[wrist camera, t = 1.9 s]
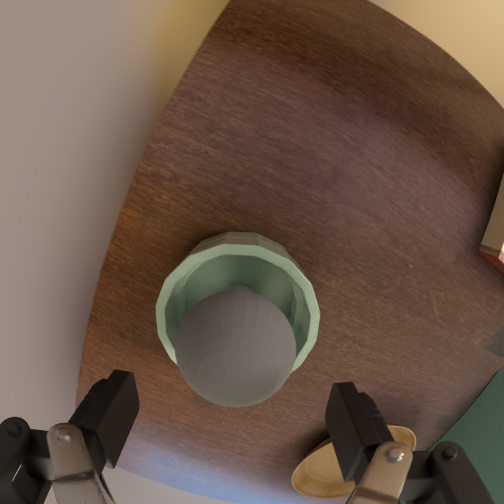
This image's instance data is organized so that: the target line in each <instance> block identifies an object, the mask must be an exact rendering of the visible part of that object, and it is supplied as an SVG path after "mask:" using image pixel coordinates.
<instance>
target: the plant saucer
mask: <svg viewBox="0 0 504 504" xmlns="http://www.w3.org/2000/svg"><path fill="white" fill-rule="evenodd" d="M386 425H387V427H388V428H389V430H390V432H391V434H392V436H393V438H394V440H395V441H398V442H402V443H404V444H406V445H407V446H408V447H409V448H410V449H411V451H414V450H415V447H416V436H415V434H414V433H413V432H412V431H411V430H410V429H408V428H406V427H402V426H398V425H393V424H386ZM291 483H292V486H293V488H294V489H295V490H296V491H297V492H299V493H300V494H302V495H304V496H308V497H311V498H319V499H330V498H340V497H345V496H349V495H351V493H352V491H353V490H354V488H355V486H356V485H355V482H354V481H349V482H344V480H343V477H342V473H341V470H340V467H339V463H338V460H337V457H336V454H335V451H334V447H333V444H332V441H331V438H329V439H327V440H325V441H324V442H322V443H321V444H319V445H318V446H317V447H316V448H314V449H313V450H312V451H311V452H310V453H309V454H308V455H307V456H306V457H305V458H304V459H303V460H302V461H301V462H300V463H299V465H298V466H297V467H296V469H295V470H294V472H293V475H292V478H291Z"/></svg>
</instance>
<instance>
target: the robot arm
mask: <svg viewBox="0 0 504 504" xmlns="http://www.w3.org/2000/svg"><path fill="white" fill-rule="evenodd" d="M138 411H139V397H138V393H137V388H136V383H135V378H134V374H133V373H132V372H128V371H122V370H117V369H115V370H114V371H113V372H112V373H111V375H110V376H109V378H108V379H101V380H100V381H98V382H97V383H95V384H94V385H93V386H92V388H91V389H90V390H89V392H88V394H87V395H86V396H85V398H84V400H83V401H82V402H81V403H80V405H79V406H78V408H77V409H76V411H75V412H74V414H73V415H72V417H71V418H70V420H69V421H68V423H59V424H56V425H54V426H52V427H51V428H50V429H49V431H43V430H35V429H30V427H29V425H28V424H27V422H26V421H25V420H24V419H22V418H19V417H11V418H7V419H6V420H4V421H3V422H2V423H1V424H0V504H44V501H45V499H46V497H47V494H48V492H49V490H50V488H51V486H53V490H54V493H55V497H56V500H57V503H58V504H116V503H115V501H114V498H113V497H112V494H111V492H110V490H109V488H108V486H107V483H106V481H105V479H104V476H103V474H102V471H103V468H104V466H105V467H109V468H112V469H114V468H115V466H116V463H117V461H118V459H119V456H120V454H121V451H122V449H123V447H124V444H125V442H126V440H127V437H128V435H129V433H130V430H131V428H132V426H133V423H134V421H135V419H136V417H137V414H138ZM325 420H326V425H327V428H328V431H329V435H330V438H331V441H332V444H333V447H334V451H335V454H336V457H337V460H338V463H339V467H340V470H341V473H342V477H343V480H344V482H349V481H354V482H355V485H356V486H355V488H354V490H353V491H352V493H351V495H350V497H349V498H348V500H347V502H346V503H345V504H400V501H405V502H406V504H495V502H494V501H493V499H492V497H491V495H490V493H489V492H488V490H487V488H486V486H485V484H484V483H483V481H482V479H481V478H480V476H479V474H478V472H477V471H476V469H475V467H474V466H473V464H472V462H471V461H470V459H469V457H468V456H467V454H466V453H465V451H464V449H463V448H462V447H461V446H460V445H459V444H457V443H455V442H452V441H443V442H440V443H438V444H437V445H436V446H435V447H434V449H433V450H432V451H411V449H410V448H409V447H408V446H407V445H406V444H404V443H402V442H398V441H395V440H394V438H393V436H392V434H391V432H390V430H389V428H388V427H387V425H386V423H385V421H384V419H383V417H382V416H381V414H380V412H379V410H377V406H376V405H375V403H374V401H373V399H372V398H370V397H369V396H368V395H367V394H365V393H364V392H362V393H358V391H357V389H356V387H355V385H354V384H353V382H342V383H334V384H333V386H332V389H331V393H330V396H329V400H328V404H327V408H326V413H325ZM20 465H21V467H20V469H19V471H18V473H17V475H16V477H15V478H14V480H13V477H14V475H15V474H16V472H17V470H18V468H19V466H20ZM12 480H13V482H12Z"/></svg>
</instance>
